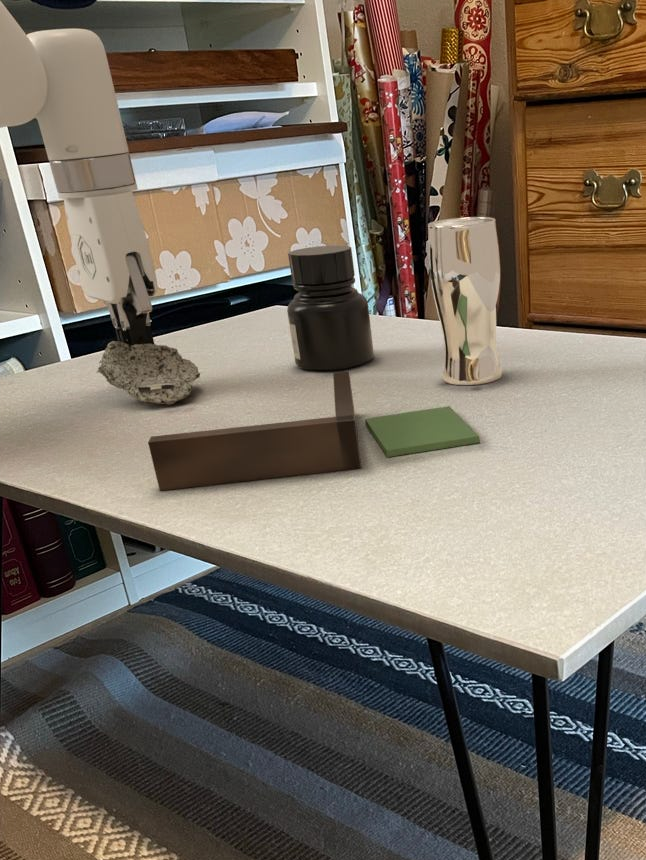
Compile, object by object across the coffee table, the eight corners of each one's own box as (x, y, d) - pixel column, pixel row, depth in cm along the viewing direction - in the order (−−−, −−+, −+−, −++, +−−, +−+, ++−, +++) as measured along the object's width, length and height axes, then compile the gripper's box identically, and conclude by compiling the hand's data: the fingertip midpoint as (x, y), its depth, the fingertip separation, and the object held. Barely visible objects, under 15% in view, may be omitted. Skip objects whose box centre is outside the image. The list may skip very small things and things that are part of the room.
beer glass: (447, 369, 105) (435, 218, 98) (511, 368, 104) (503, 215, 96) (432, 387, 99) (417, 228, 92) (499, 386, 98) (490, 224, 90)
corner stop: (159, 491, 78) (147, 442, 76) (183, 431, 91) (174, 389, 89) (361, 468, 79) (354, 419, 77) (354, 413, 93) (349, 371, 91)
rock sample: (122, 380, 94) (117, 306, 97) (96, 423, 99) (92, 352, 102) (223, 404, 100) (216, 335, 104) (194, 443, 106) (188, 376, 109)
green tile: (387, 457, 81) (386, 450, 81) (365, 424, 89) (364, 418, 89) (480, 442, 83) (479, 435, 82) (450, 412, 91) (449, 405, 91)
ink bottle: (327, 350, 117) (312, 243, 111) (390, 353, 113) (378, 243, 107) (278, 371, 110) (259, 257, 104) (344, 375, 106) (328, 257, 100)
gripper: (32, 181, 99) (83, 363, 109) (83, 184, 89) (135, 384, 98) (104, 172, 103) (147, 348, 112) (161, 173, 93) (204, 367, 102)
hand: (142, 364), depth 105 cm, fingers closed
